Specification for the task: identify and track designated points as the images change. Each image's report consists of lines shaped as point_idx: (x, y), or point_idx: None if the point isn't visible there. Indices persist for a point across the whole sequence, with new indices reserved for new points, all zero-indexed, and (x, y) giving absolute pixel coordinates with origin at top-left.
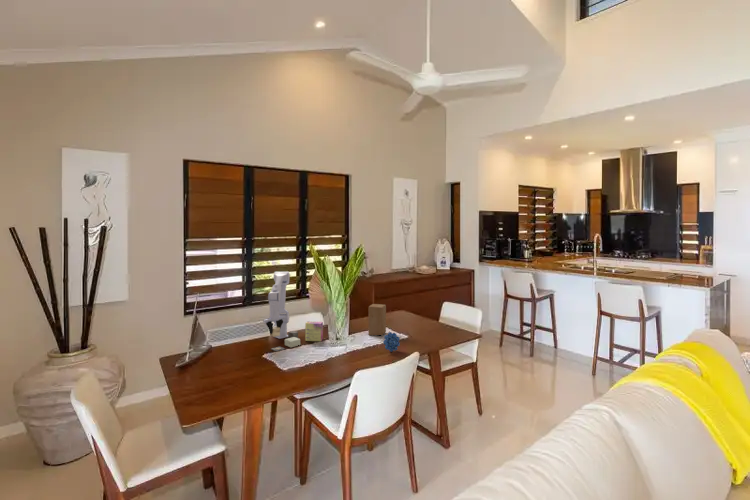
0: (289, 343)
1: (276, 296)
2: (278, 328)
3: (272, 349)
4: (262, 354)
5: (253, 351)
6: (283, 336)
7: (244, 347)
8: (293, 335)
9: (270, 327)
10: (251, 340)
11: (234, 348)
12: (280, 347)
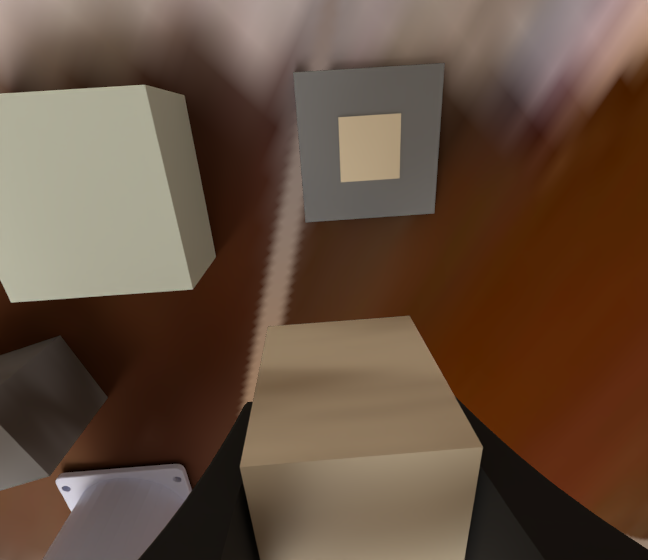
0: (173, 137)
1: None
2: (294, 446)
3: (435, 173)
4: (634, 81)
5: (604, 269)
6: (126, 483)
7: (562, 425)
8: (4, 381)
9: (606, 523)
10: None
11: (630, 445)
12: (318, 173)
